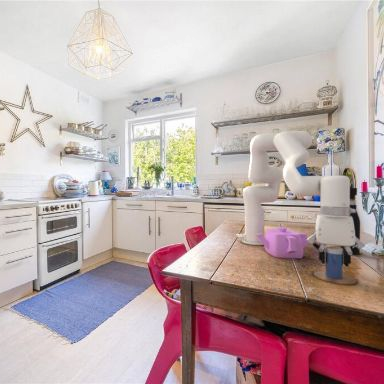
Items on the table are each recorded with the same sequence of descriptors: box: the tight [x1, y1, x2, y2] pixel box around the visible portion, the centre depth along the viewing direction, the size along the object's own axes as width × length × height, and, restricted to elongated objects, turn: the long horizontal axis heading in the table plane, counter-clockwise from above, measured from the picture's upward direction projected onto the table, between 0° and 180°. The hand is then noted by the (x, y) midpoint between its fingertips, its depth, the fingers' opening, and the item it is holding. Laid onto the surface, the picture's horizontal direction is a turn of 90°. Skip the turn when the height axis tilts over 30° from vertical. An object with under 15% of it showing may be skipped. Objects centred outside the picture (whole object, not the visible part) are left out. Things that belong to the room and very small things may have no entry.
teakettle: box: [257, 226, 309, 260], centre depth 109 cm, size 17×17×12 cm
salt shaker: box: [324, 246, 344, 280], centre depth 81 cm, size 5×5×10 cm
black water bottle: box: [340, 187, 361, 256], centre depth 108 cm, size 6×6×30 cm
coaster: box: [313, 270, 357, 286], centre depth 81 cm, size 11×11×1 cm
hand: (334, 263), depth 81 cm, fingers open, 5 cm apart
